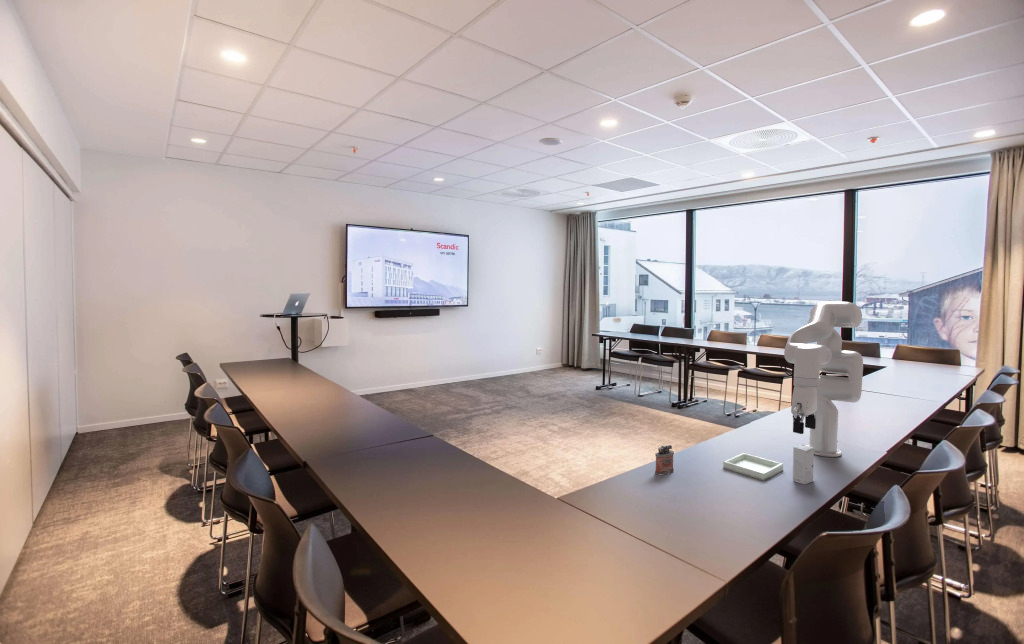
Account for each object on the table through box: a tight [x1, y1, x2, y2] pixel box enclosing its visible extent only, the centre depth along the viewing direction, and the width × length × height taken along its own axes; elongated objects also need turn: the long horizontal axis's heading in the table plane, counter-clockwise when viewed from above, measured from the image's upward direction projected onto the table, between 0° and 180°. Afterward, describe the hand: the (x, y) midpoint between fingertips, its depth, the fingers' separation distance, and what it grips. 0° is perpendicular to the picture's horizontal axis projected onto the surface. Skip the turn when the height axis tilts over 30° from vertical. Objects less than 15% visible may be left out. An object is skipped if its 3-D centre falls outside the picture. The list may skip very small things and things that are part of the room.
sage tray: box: [722, 452, 784, 481], centre depth 179 cm, size 15×15×2 cm
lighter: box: [654, 444, 675, 475], centre depth 177 cm, size 8×3×10 cm, turn 117°
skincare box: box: [792, 444, 815, 485], centre depth 168 cm, size 6×4×12 cm
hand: (804, 430), depth 167 cm, fingers open, 9 cm apart
